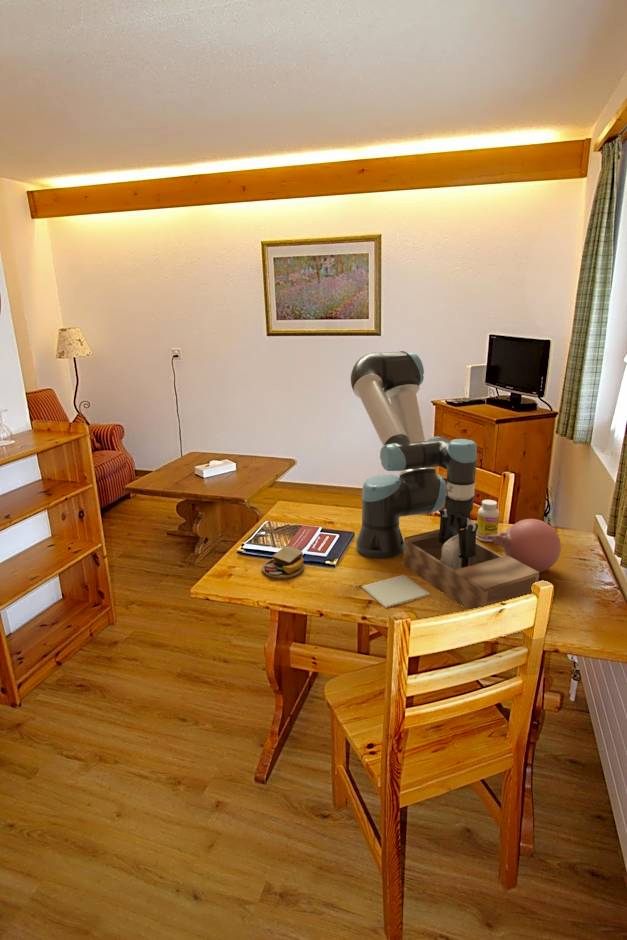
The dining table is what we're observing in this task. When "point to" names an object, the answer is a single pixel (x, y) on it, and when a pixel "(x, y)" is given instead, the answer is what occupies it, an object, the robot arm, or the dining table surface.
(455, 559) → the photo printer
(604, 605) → the dining table surface
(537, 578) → the walnut box
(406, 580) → the felt mat
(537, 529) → the pink rubber bulb
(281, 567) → the toy sandwich meal
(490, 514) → the supplement bottle
